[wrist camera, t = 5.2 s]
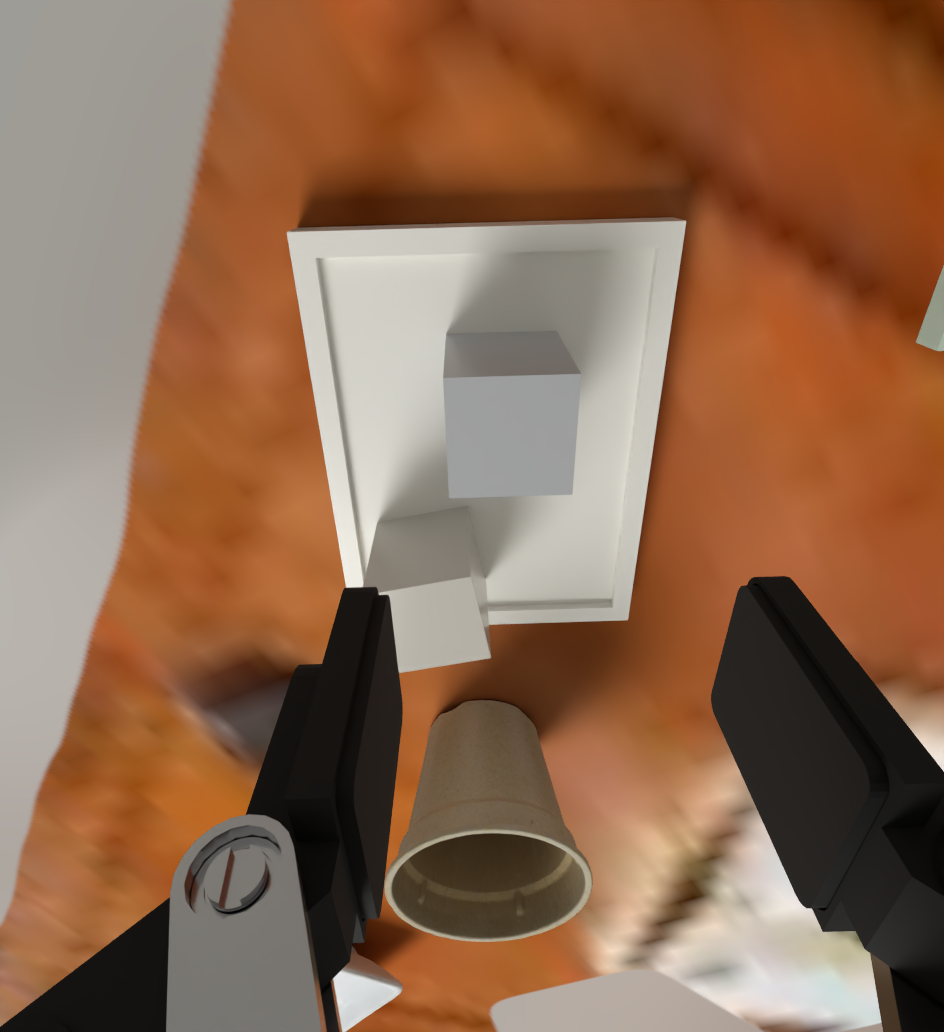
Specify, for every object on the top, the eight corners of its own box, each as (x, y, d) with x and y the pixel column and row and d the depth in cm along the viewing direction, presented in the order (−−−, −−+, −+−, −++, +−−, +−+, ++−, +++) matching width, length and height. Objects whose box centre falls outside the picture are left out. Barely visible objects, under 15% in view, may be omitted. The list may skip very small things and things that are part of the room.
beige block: (468, 505, 25) (470, 576, 21) (485, 579, 27) (491, 658, 23) (377, 522, 26) (361, 595, 21) (401, 593, 28) (390, 674, 23)
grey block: (556, 330, 21) (581, 373, 17) (551, 433, 24) (572, 494, 19) (445, 334, 21) (443, 377, 17) (450, 436, 24) (449, 498, 19)
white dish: (673, 217, 21) (686, 220, 19) (620, 601, 29) (627, 620, 28) (296, 227, 20) (286, 231, 19) (357, 609, 29) (353, 629, 28)
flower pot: (377, 693, 32) (353, 852, 25) (547, 659, 31) (574, 814, 24) (427, 795, 37) (419, 954, 30) (575, 768, 36) (606, 926, 29)
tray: (71, 1028, 55) (49, 1078, 52) (210, 873, 42) (191, 928, 39) (242, 1065, 60) (231, 1112, 57) (412, 938, 47) (409, 990, 44)
